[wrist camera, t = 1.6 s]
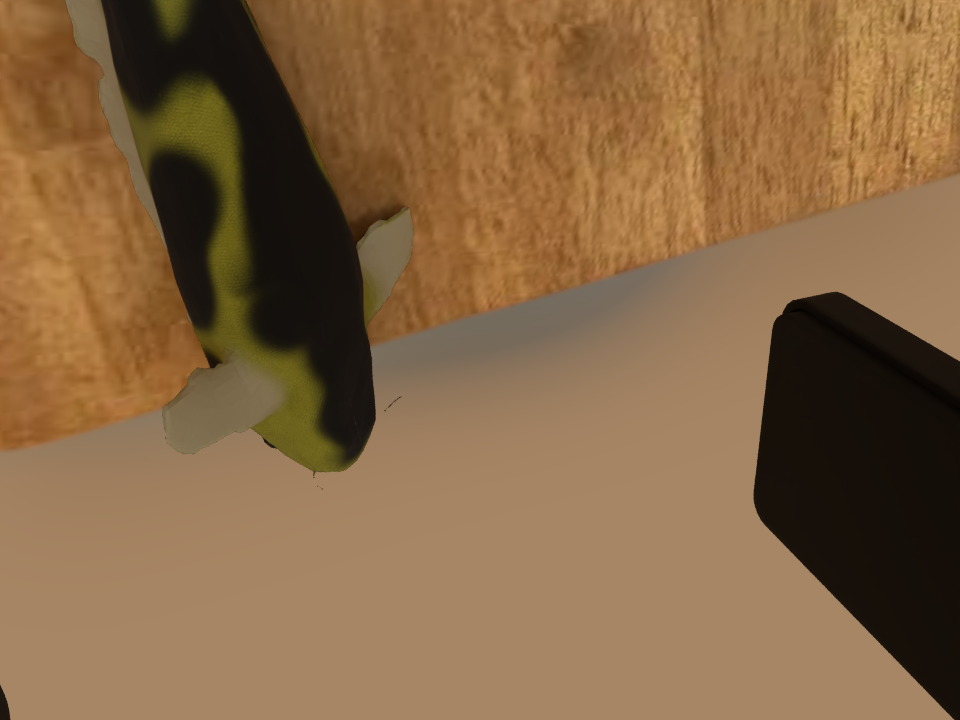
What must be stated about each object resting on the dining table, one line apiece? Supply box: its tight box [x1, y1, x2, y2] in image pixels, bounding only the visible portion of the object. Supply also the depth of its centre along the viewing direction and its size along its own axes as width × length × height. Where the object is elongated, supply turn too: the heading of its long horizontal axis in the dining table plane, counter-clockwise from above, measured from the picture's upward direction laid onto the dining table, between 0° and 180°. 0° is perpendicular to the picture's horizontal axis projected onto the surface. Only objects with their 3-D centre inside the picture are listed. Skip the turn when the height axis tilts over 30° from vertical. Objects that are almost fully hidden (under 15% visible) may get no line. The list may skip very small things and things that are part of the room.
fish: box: [65, 0, 413, 476], centre depth 22 cm, size 11×24×10 cm
